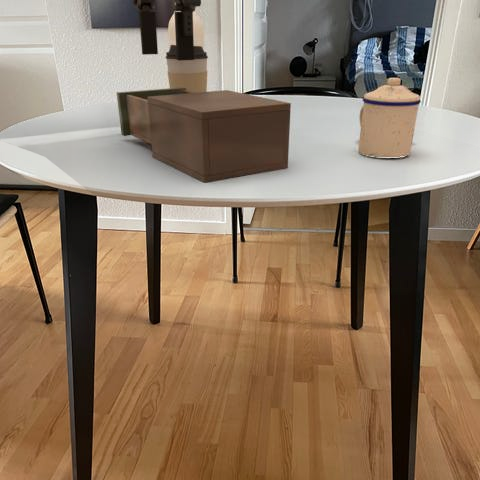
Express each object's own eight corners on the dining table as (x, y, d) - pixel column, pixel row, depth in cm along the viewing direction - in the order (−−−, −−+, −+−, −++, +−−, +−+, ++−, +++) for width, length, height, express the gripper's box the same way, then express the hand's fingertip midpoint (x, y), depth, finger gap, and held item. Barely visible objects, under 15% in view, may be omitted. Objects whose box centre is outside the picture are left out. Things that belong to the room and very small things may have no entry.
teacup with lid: (422, 156, 83) (437, 79, 77) (378, 162, 80) (389, 82, 74) (378, 142, 92) (388, 72, 86) (336, 147, 89) (343, 75, 83)
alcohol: (168, 106, 130) (158, -35, 114) (179, 101, 137) (171, -32, 121) (200, 107, 128) (195, -36, 112) (210, 102, 135) (205, -33, 120)
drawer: (119, 134, 95) (113, 91, 91) (182, 126, 101) (180, 86, 97) (158, 152, 82) (154, 103, 78) (229, 142, 88) (228, 97, 84)
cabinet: (152, 157, 83) (146, 96, 78) (227, 146, 90) (227, 90, 85) (204, 182, 70) (201, 112, 65) (287, 167, 77) (291, 103, 72)
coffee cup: (196, 115, 118) (193, 42, 110) (217, 120, 112) (216, 44, 104) (162, 119, 113) (156, 44, 105) (182, 125, 107) (178, 46, 99)
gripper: (224, -119, 66) (224, 62, 77) (147, -92, 83) (156, 51, 94) (172, -127, 62) (180, 63, 73) (103, -98, 80) (118, 52, 91)
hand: (166, 57), depth 84 cm, fingers open, 13 cm apart
